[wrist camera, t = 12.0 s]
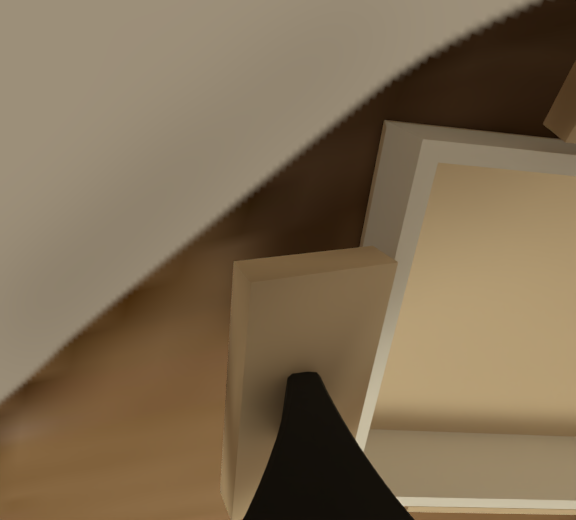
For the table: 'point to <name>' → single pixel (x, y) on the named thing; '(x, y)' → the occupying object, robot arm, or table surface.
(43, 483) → the table surface
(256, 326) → the flap
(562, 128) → the flap
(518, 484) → the carton
